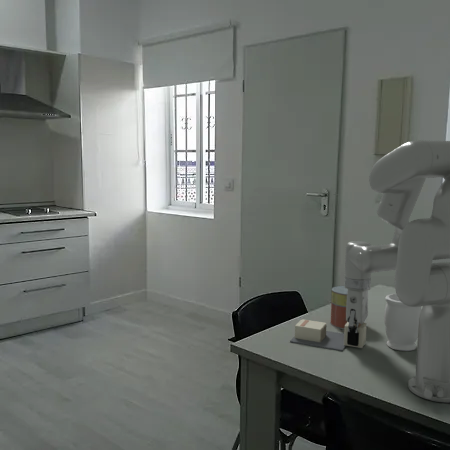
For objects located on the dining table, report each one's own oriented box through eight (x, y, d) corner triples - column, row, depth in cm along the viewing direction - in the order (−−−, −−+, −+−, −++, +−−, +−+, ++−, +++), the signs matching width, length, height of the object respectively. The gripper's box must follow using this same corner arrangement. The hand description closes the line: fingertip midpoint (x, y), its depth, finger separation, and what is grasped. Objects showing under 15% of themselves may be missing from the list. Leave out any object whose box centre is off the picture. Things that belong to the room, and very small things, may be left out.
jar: (396, 354, 143) (398, 303, 141) (376, 341, 153) (378, 294, 151) (427, 350, 146) (430, 301, 144) (406, 338, 156) (408, 292, 154)
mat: (342, 351, 145) (342, 349, 145) (290, 342, 152) (290, 340, 152) (352, 336, 158) (352, 334, 158) (303, 328, 165) (303, 327, 165)
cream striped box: (320, 342, 151) (321, 329, 150) (294, 338, 155) (295, 325, 154) (326, 335, 157) (327, 322, 157) (301, 331, 161) (301, 318, 160)
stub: (362, 348, 146) (363, 328, 146) (343, 345, 149) (344, 325, 148) (365, 342, 151) (366, 322, 150) (347, 339, 154) (348, 320, 153)
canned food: (367, 322, 172) (368, 288, 170) (360, 331, 162) (361, 296, 160) (335, 317, 177) (336, 284, 175) (326, 326, 167) (327, 291, 165)
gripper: (364, 291, 138) (362, 353, 141) (375, 278, 154) (372, 334, 156) (338, 288, 141) (335, 349, 144) (350, 275, 157) (348, 331, 159)
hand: (354, 341), depth 150 cm, fingers closed on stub, 5 cm apart
